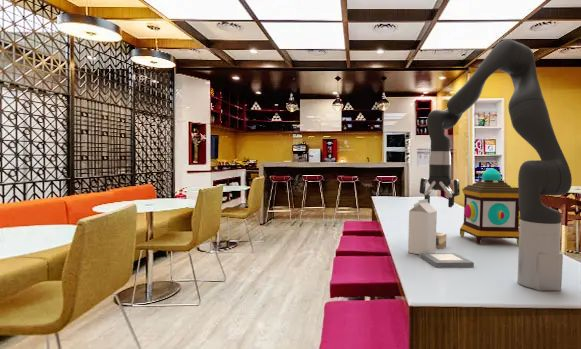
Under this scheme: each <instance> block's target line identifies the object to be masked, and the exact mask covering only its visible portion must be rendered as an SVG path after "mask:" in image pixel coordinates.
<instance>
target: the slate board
mask: <svg viewBox="0 0 581 349" xmlns="http://www.w3.org/2000/svg"><path fill="white" fill-rule="evenodd" d="M419 256H420V258H421V259H422V260H424V261H426V262H427V263H428V264H430V265H432V266H433V267H434V268H475V262H473V261H472V260H470V259H468V258H466V257H464V256H462V255H460V254H458V253H456V252H435V253H421V255H419Z"/></svg>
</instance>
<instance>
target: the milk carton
mask: <svg viewBox="0 0 581 349" xmlns="http://www.w3.org/2000/svg"><path fill="white" fill-rule="evenodd" d="M437 212H438V211H437V210H436V208H434V207H433V206H432V205H431V203H430V204H429V203H428V199H425V198H424V199H420V200H418V201H417V202H416V203H414V204H413V207H412V208H411V209H410V210H408V236H407V237H408V241H407V242H408V244H407V245H408V246H407V253H409V254H416V255H419V256H420V255H421V253H437V251H436V250H437V248H436V233H437V217H438V216H437Z"/></svg>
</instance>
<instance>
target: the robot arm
mask: <svg viewBox="0 0 581 349" xmlns="http://www.w3.org/2000/svg"><path fill="white" fill-rule="evenodd" d="M497 71H500V72H503V73H505V74H507V75H509V77H510V80H511V81H512V84H513V93H512V95H511V97H510V99H509V102H508V104H507V105H508V106H507V107H508V108H507V109H508V114H509V117H510V118H509V119H510V122H511V125H512V127H513V129H514V131H515V132H516V133H517V134H518V135H519V136H520V137H521V138H522V139H523V140H524V141H526V143H527V144H529V145H530V146H531V147H532V148H533V149H534V150H535V152H536V153H537V154H538V156H539V158H540V160H535V159H534V160H530V159H529V160H525V161H524V162H522V164H521V165H520V167H519V169H518V176H517V179H518V180H517V182H518V183H517V185H518V187H517V189H518V191H519V225H518V229H519V245H518V256H517V258H518V259H517V283H518V284H520V285H521V286H524V287H525V288H529V289H533V290H534V289H535V290H536V291H539V292H540V291H542V292H543V291H562V287H563V286H562V282H563V281H562V280H563V259H564V256H563V253H561V240H562V239H561V237H562V235H561V234H562V218H563V217H562V213H561V211H560V210H557V209H554V208H551V207H550V206H547V205H545V204H544V203H543V202H542V196H565V195H566V194H567V193H569V191H570V190H571V188H572V183H573V181H572V179H573V178H572V172H571V168H570V167H569V164H568V161H567V159H566V157H565V155H564V153H563V150H562V148H561V146H560V143H559V141H558V138H557V135H556V133H555V130H554V128H553V127H554V126H553V124H552V121H551V118H550V114H549V110H548V107H547V103H546V101H545V98H544V95H543V91H542V88H541V85H540V82H539V78H538V74H537V68H536V59H535V55H534V52H533V50H532V49H531V48H530V47H529V46H527V45H525V44H523V43H521V42H518V41H516V40H513V39H509V38H508V39H503V40H501V41H500V42H498V43H497V44H495V45H494V47H493V48H492V49H491V50H490V51H489V53H488V54H487V56H486V57H485V58H484V59H483V61H482V62H481V63H480V64H479V65H478V67H477V68H476V70H475V71H474V72H473V74H472V75H471V77H469V79H468V80H467V81H466V82H465V84H463V86H462V87H461V88H460V89H458V91H456V92H455V93H454V94H453V95H452V96H451V97H450V98H449V99H448V101H446V108H447V109H446V110H440V109H435V110H432V111H430V112H429V113H428V116H427V119H426V127H427V131H428V135H429V136H428V137H429V138H430V139H429V140H430V153H429V160H428V163H429V164H428V165H429V166H428V168H429V169H428V178H426V177H423V178H422V177H421V178H420V182H419V193H420V194H422V195H424V199H428V203H429V204H430V205H431V195H430V194H431V193H432V192H434V191H444V192H445V193H446V194H447V195H448V200H447V201H448V208H452V207H454V205H455V197H458V196H460V195H461V193H460V192H461V191H460V190H461V189H460V180H459V179H451V171H452V170H451V165H452V161H451V160H452V155H451V145H452V144H451V137H450V136H448V135H446V134H445V132H444V131H445V130H450V129H452V128H453V127H454V126H455V125H456V124H457V123H458V122H459V120H460V119H461V118H462V116H463V114H464V113H465V112H466V111H467V110H469V109H470V108H471V107H472V106H473V105H474V104H475V103H477V101H478V100H479V98H480V97H481V94H482V93H483V92H482V91H483V90H484V86H485V83H486V81H487V80H488V79H489V77H491V75H493V74H494V73H496V72H497ZM427 184H429V185H428V187H427V188H426V186H427ZM450 185H452V186H453V190H452V189H451V187H450Z"/></svg>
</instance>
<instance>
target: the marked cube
mask: <svg viewBox="0 0 581 349" xmlns="http://www.w3.org/2000/svg"><path fill="white" fill-rule="evenodd" d="M446 247H447V233H441V232H436V249H439V250H442V249H444V248H446Z"/></svg>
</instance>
